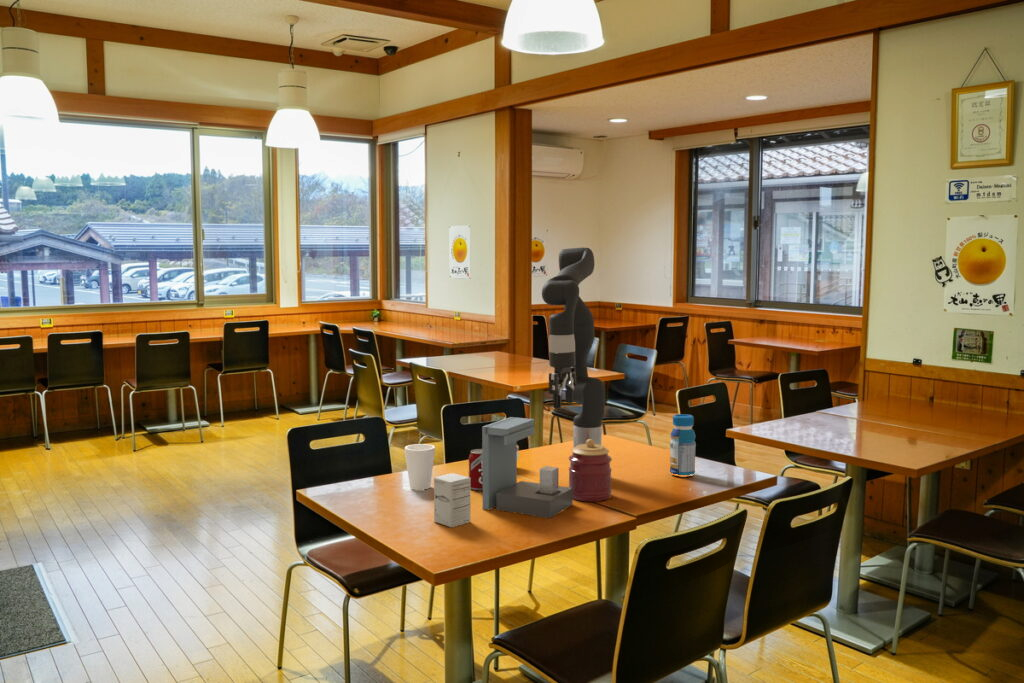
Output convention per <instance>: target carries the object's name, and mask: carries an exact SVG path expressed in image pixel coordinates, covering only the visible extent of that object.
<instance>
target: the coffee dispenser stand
mask: <svg viewBox="0 0 1024 683" xmlns="http://www.w3.org/2000/svg"><path fill="white" fill-rule="evenodd" d="M481 431H482V432H481V433H482V434H481V435H482V438H481V440H482V443H481V449H482V477H483V491H482V510H486V509H490V510H491V508H492V509H494V508H495V507H497V506H496V493H497V492H499V491H501V490H503V489H507V488H509V487H511V486H514V484H516V483H518V478H517V477H518V475H517V472H518V468H517V467H518V466H517V465H518V463H517V462H518V460H517V445H518V443H517V442H518V441H520V440H523V439H526V438H528V437H530V436H534V435H535V419H534V418H526V417H524V418H523V417H514V416H509V417H507V418H504V419H501V420H497V421H495V422H492V423H490V424H486V425H484V426H482V428H481ZM494 506H495V507H494Z"/></svg>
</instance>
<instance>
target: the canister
mask: <svg viewBox="0 0 1024 683" xmlns="http://www.w3.org/2000/svg"><path fill="white" fill-rule="evenodd" d="M609 452H610V450H609V449H608V448H606V447H605V446H604V445H602V444H601V445H598V444H595V443H594V440H592V439H588V440H587V441H586V444H580V445H577V446H576V447H575V448H571V453H572V454H571V455H569V456H568V461H569V464H570V465H569V467H568V478H569V479H568V487H569V488H573V498H572V500H576V501H578V502H579V501H580V502H587V501H588V502H589V503H591V502H593V503H595V501H596V502H603V501H602V500H604V501H607V500H609V499H610V498H611V497H610V496H612V489H613V488H612V472H613V470H612V468H611V465H610V464H611V462H612V460H613V459H612V457H611V456H610V455H609V454H608V453H609ZM609 497H610V498H609ZM608 498H609V499H608ZM606 499H607V500H606Z"/></svg>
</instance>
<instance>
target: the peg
mask: <svg viewBox="0 0 1024 683" xmlns="http://www.w3.org/2000/svg"><path fill="white" fill-rule="evenodd" d="M539 483H540V494H543V495H550V496H554V495H556V494H558V486H559V467H558V466H557V467H556V466H549V465H548V466H547V465H545V466H543V467H540V468H539Z"/></svg>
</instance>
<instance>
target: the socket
mask: <svg viewBox="0 0 1024 683" xmlns="http://www.w3.org/2000/svg"><path fill="white" fill-rule="evenodd" d="M572 498H573V488H569V486H559V485H558V494H556V495H554V496H550V495H543V494H540V482H538V483H537V482H531V481H524V480H520V481H517V483H516V484H514V486H511V487H509V488H507V489H503V490H501V491H499V492H497V493H496V506H495V507H496V511H500V510H504V511H503V512H506V511H510V512H509V513H512V512H516V513H515V514H519V513H523V514H522V515H525V514H528V515H527V516H531V515H534V516H533V517H538V516H540V518H544V517H546V518H545V519H551V517H552V518H553V517H555V516H556V515H558V514H560V513H561V512H563V511H565V510H566V509H568V508H570V507H571V506H573V499H572ZM570 505H571V506H570ZM569 506H570V507H569ZM567 507H568V508H567ZM564 509H565V510H564ZM562 510H563V511H562ZM559 512H560V513H559ZM554 515H555V516H554Z"/></svg>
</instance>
